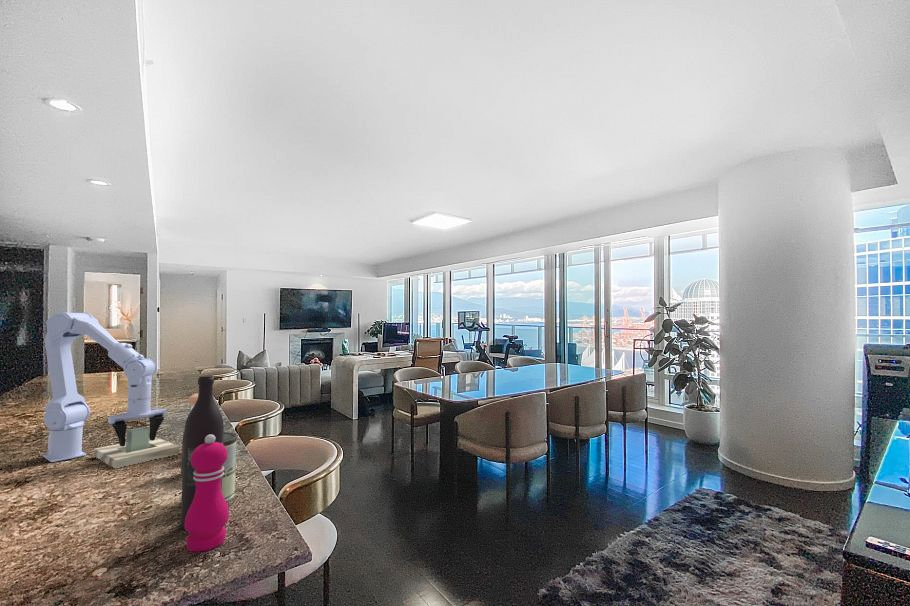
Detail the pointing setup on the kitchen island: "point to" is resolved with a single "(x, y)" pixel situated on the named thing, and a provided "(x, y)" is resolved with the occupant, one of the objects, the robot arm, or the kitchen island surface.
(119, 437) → the robot arm
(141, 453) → the board with square hole
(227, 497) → the coffee can
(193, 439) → the wine bottle
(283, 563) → the kitchen island surface
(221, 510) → the pepper mill
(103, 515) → the kitchen island surface
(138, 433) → the peg
